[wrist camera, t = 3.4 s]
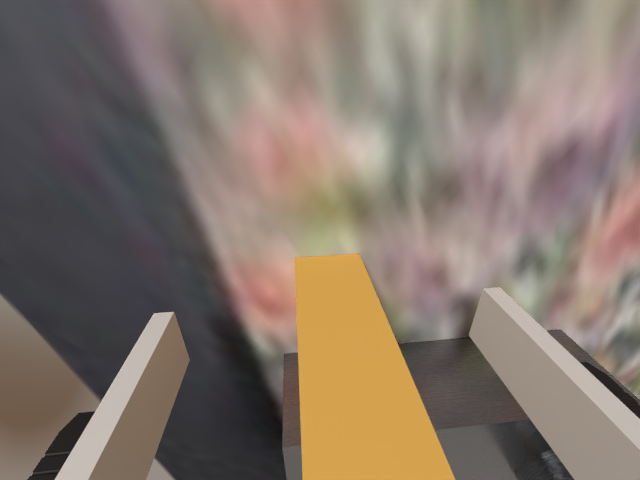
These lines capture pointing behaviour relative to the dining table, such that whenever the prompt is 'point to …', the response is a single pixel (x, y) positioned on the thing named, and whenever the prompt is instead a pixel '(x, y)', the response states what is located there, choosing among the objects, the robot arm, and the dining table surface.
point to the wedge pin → (356, 382)
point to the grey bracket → (458, 413)
